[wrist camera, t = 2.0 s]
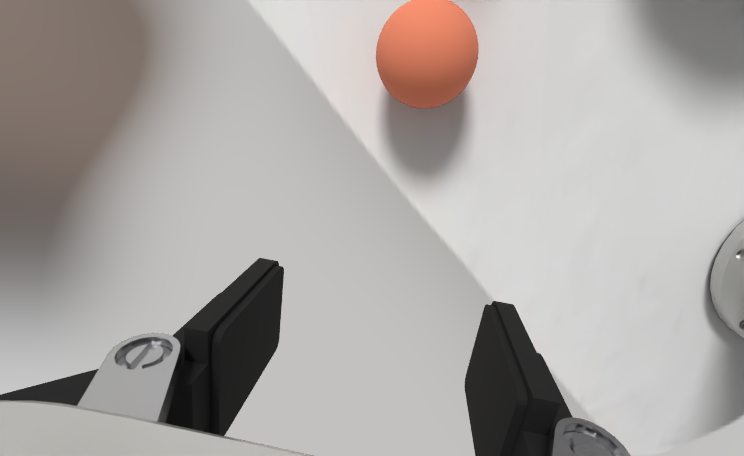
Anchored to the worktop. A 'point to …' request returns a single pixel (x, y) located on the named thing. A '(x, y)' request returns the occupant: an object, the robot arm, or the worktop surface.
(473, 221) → the worktop surface
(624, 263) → the worktop surface
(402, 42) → the ball
